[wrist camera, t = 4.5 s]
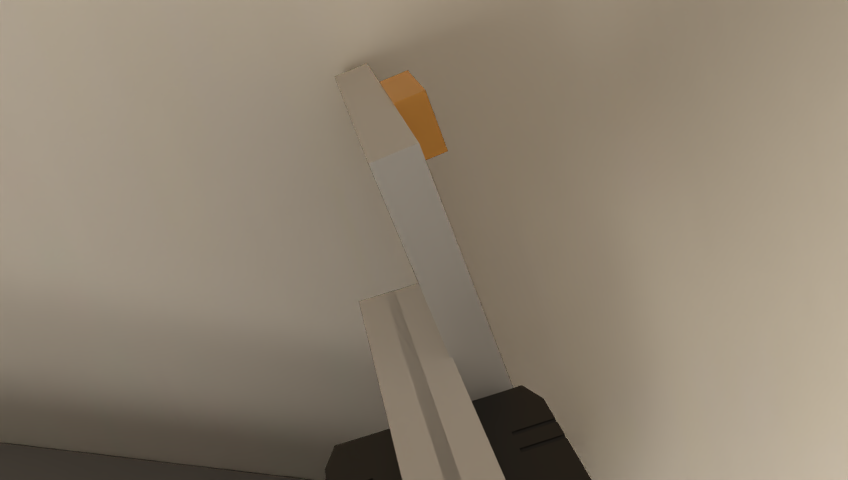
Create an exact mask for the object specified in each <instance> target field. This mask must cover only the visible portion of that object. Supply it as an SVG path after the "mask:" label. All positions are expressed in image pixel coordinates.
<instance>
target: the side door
mask: <svg viewBox="0 0 848 480" xmlns="http://www.w3.org/2000/svg"><path fill="white" fill-rule="evenodd" d="M335 79H336V81H337V84H338V87H339V89H340V92H341V94H342V97H343V100H344V102H345V105H346V107H347V110H348V113H349V115H350V118H351V120H352V123H353V126H354V128H355V131H356V133H357V136H358V138H359V141H360V144H361V146H362V149H363V151H364V154H365V157H366V159H367V162H368V164H369V167H370V169H371V171H372V174H373V176H374V179H375V181H376V183H377V186H378V188H379V190H380V193H381V195H382V198H383V200H384V202H385V205H386V207H387V209H388V212H389V214H390V217H391V219H392V221H393V224H394V226H395V228H396V231H397V233H398V236H399V238H400V240H401V243H402V245H403V247H404V250H405V252H406V254H407V257H408V259H409V262H410V264H411V266H412V269H413V271H414V273H415V276H416V278H417V281H418V283H419V285H420V288H421V290H422V292H423V295H424V297H425V300H426V302H427V304H428V307H429V309H430V311H431V314H432V316H433V319H434V321H435V323H436V326H437V328H438V330H439V333H440V335H441V338H442V340H443V342H444V345H445V347H446V349H447V352H448V354H449V357H450V358H451V357H452V358H453V360H454V362H455V364H456V367H457V369H458V371H459V374H460V376H461V378H462V381H463V383H464V385H465V387H466V390H467V392H468V394H469V397H470V399H471V401H474V400H477V399H480V398H483V397H486V396H490V395H493V394H496V393H499V392H502V391H505V390H509V389H512V388H513V385H512V383H511V380H510V378H509V375H508V373H507V370H506V367H505V365H504V362H503V360H502V357H501V354H500V352H499V349H498V347H497V344H496V341H495V339H494V336H493V334H492V331H491V328H490V326H489V323H488V321H487V318H486V315H485V313H484V310H483V308H482V305H481V302H480V300H479V297H478V295H477V292H476V289H475V287H474V284H473V282H472V279H471V277H470V274H469V271H468V269H467V266H466V264H465V261H464V258H463V256H462V253H461V251H460V248H459V245H458V243H457V240H456V238H455V235H454V232H453V230H452V227H451V225H450V222H449V219H448V217H447V214H446V212H445V209H444V206H443V204H442V201H441V199H440V196H439V193H438V191H437V188H436V186H435V183H434V181H433V178H432V175H431V173H430V170H429V168H428V165H427V162H426V160H428V159H430V158H432V157H435V156H437V155H440V154H442V153H444V152H447V151H448V150H447V147H446V145H445V142H444V139H443V137H442V134H441V131H440V129H439V126H438V123H437V120H436V118H435V115H434V112H433V110H432V107H431V104H430V102H429V99H428V96H427V93H426V91H425V89H424V88H423V87H422V86H421V85H420V84H419V83H418V81H417V80H416V79H415V78H414V77H413V76H412V75H411V74H410V73H409V71H408V70H407V71H404V72H402V73H400V74H397V75H395V76H392V77H390V78H387V79H385V80H383V81H380V82H379V81H378V79H377V78H376V76H375V75H374V73H373V72H372V70H371V69H370V67H369V66H368V64H367V63H366V64H364V65H362V66H359V67H357V68H354V69H352V70H349V71H347V72H345V73H342V74H340V75H337V76H335Z"/></svg>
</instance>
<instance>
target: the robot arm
mask: <svg viewBox="0 0 848 480" xmlns="http://www.w3.org/2000/svg"><path fill="white" fill-rule="evenodd" d="M359 304H360V308H361V312H362V316H363V320H364V324H365V328H366V332H367V337H368V341H369V345H370V349H371V353H372V357H373V361H374V365H375V369H376V374H377V378H378V382H379V386H380V390H381V394H382V398H383V402H384V407H385V411H386V415H387V419H388V423H389V427H390V429H387V430H384V431H381V432H378V433H375V434H371V435H368V436H365V437H362V438H359V439H355V440H352V441H349V442H346V443H343V444H339V445H336V446H335V447H334V449H333V452H332V454H331V457H330V459H329V461H328V464H327V466H326V469H325V474H326V480H591V478H590V477H589V475H588V473H587V472H586V470H585V468H584V467H583V465H582V463H581V461H580V460H579V458H578V456H577V455H576V453H575V451H574V450H573V448H572V446H571V445H570V443H569V441H568V439H567V438H565V435H564V433H563V431H562V429H561V428H560V426H559V424H558V423H557V422H556V420H555V417H554V416H553V414H552V412H551V411H550V409H549V407H548V406H547V404H546V402H545V401H544V399H543V398H542V397H540V396H538V395H537V394H535V393H533V392H532V391H530V390H529V389H527V388H525V387H524V386H522V385H521V386H518V387H515V388H512V389H509V390H505V391H502V392H499V393H496V394H493V395H490V396H486V397H483V398H480V399H477V400H474V401H471V399H470V397H469V394H468V392H467V390H466V387H465V385H464V383H463V381H462V378H461V376H460V374H459V371H458V369H457V367H456V364H455V362H454V360H453V358H452V357H451V358H450V357H449V354H448V352H447V349H446V347H445V345H444V342H443V340H442V338H441V335H440V333H439V330H438V328H437V326H436V323H435V321H434V319H433V316H432V314H431V311H430V309H429V307H428V304H427V302H426V300H425V297H424V295H423V292H422V290H421V288H420V285H419V283H418V284H415V285H412V286H408V287H405V288H402V289H398V290H395V291H391V292H388V293H384V294H381V295H378V296H374V297H371V298H368V299H364V300H361V301H359Z"/></svg>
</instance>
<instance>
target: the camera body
mask: <svg viewBox="0 0 848 480" xmlns="http://www.w3.org/2000/svg"><path fill="white" fill-rule="evenodd" d="M0 480H307V479H299V478H290V477H282V476H274V475H265V474H257V473H248V472H240V471H232V470H223V469H215V468H206V467H198V466H190V465H181V464H173V463H164V462H156V461H148V460H139V459H131V458H122V457H114V456H106V455H97V454H89V453H80V452H72V451H64V450H55V449H47V448H38V447H30V446H22V445H13V444H5V443H0Z"/></svg>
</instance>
